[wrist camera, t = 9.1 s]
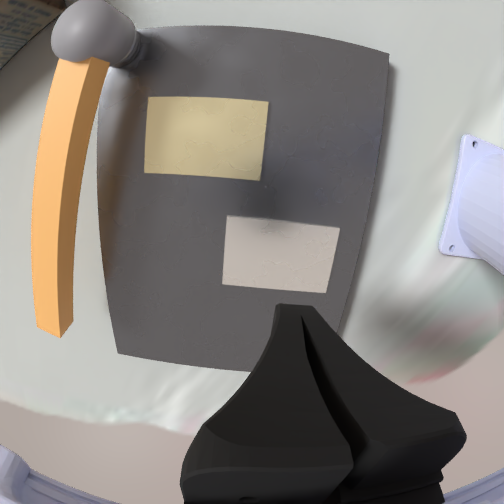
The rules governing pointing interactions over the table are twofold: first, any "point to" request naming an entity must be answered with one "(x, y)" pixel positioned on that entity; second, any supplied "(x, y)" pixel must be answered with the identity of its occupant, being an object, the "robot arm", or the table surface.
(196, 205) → the panel
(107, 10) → the swing arm
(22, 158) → the table surface
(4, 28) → the beverage carton
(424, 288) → the table surface
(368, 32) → the table surface
